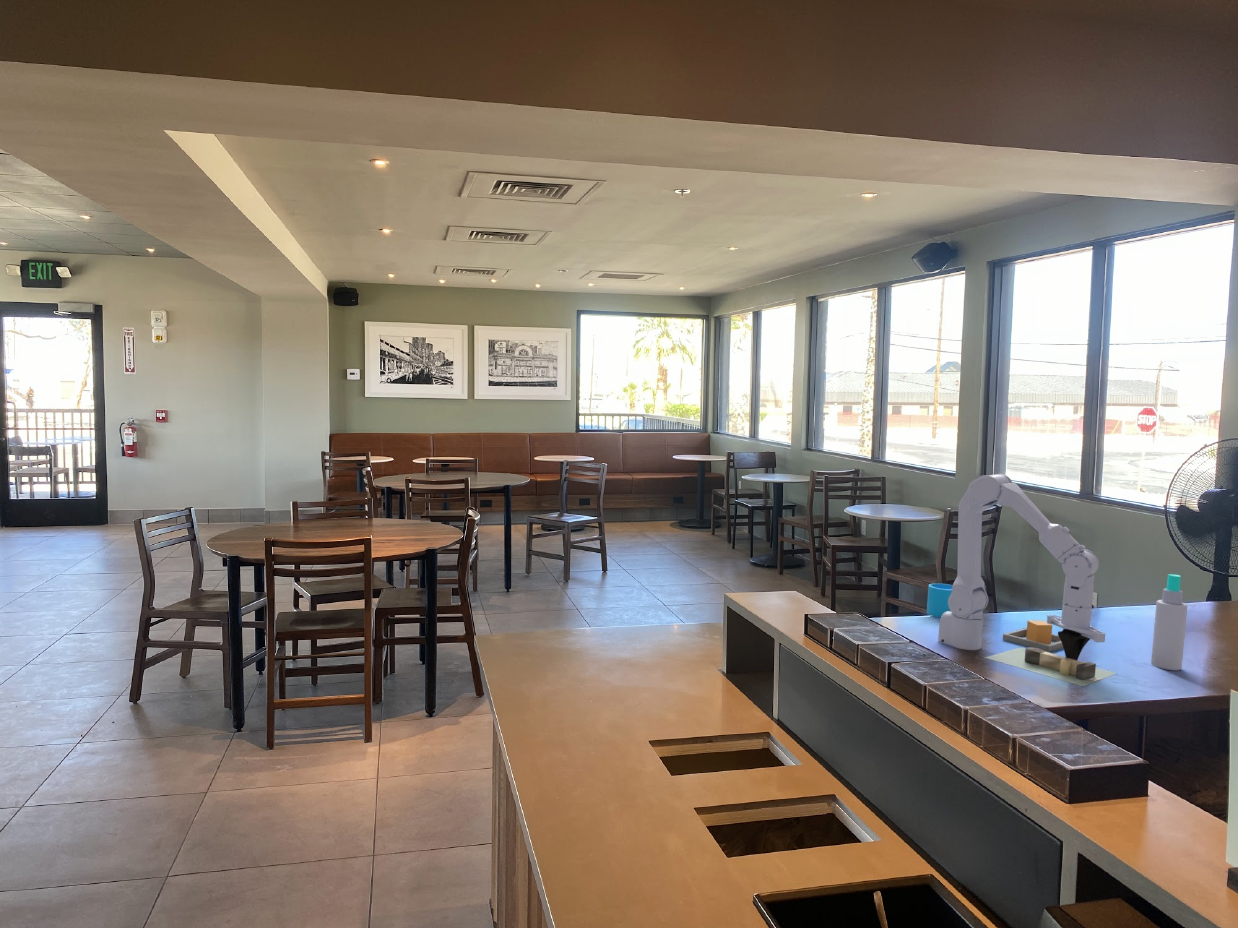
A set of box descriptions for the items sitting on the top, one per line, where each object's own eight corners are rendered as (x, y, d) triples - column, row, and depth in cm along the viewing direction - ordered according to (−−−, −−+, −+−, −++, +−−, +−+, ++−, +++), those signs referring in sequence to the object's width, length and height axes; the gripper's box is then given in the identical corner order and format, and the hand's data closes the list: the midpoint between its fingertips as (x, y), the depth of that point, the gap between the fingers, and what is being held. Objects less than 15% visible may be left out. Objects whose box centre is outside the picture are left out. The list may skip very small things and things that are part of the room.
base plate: (984, 663, 192) (985, 644, 191) (1020, 653, 201) (1021, 635, 201) (1082, 692, 174) (1083, 672, 174) (1116, 679, 183) (1118, 660, 183)
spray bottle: (1152, 668, 193) (1160, 575, 191) (1149, 661, 198) (1157, 571, 196) (1183, 672, 190) (1191, 579, 188) (1179, 665, 195) (1188, 574, 194)
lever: (1019, 660, 190) (1020, 649, 189) (1031, 657, 192) (1032, 646, 192) (1083, 679, 178) (1084, 667, 178) (1094, 676, 181) (1095, 663, 180)
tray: (1002, 645, 207) (1003, 633, 207) (1026, 638, 214) (1027, 627, 214) (1048, 658, 198) (1049, 646, 198) (1072, 650, 205) (1072, 639, 204)
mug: (923, 614, 236) (924, 586, 235) (931, 609, 242) (933, 582, 242) (966, 622, 228) (968, 593, 228) (974, 616, 235) (976, 588, 234)
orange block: (1035, 648, 203) (1037, 625, 203) (1025, 643, 207) (1027, 620, 207) (1050, 648, 204) (1052, 625, 203) (1040, 643, 208) (1042, 620, 207)
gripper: (1038, 596, 189) (1033, 654, 190) (1088, 614, 175) (1082, 676, 176) (1063, 595, 191) (1058, 652, 192) (1115, 613, 177) (1109, 674, 178)
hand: (1071, 663), depth 184 cm, fingers closed, pressing on lever
